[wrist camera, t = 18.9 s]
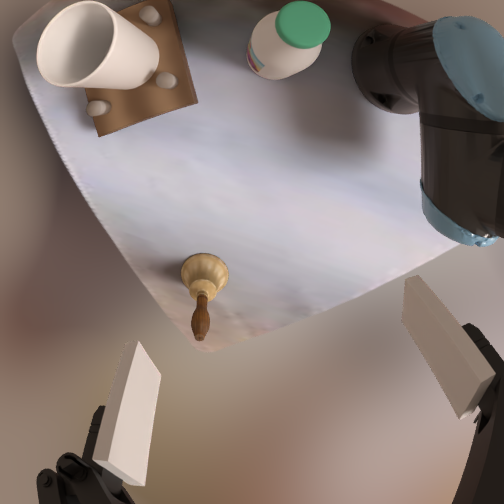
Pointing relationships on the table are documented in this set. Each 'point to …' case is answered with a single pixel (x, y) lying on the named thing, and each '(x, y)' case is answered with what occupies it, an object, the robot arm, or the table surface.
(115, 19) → the cup
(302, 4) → the milk bottle
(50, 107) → the table surface
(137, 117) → the riser
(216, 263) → the hand bell
